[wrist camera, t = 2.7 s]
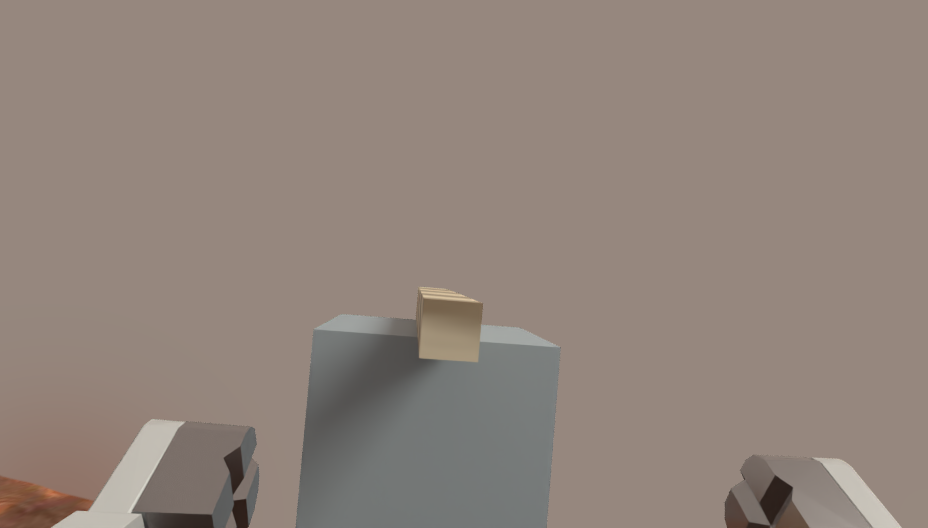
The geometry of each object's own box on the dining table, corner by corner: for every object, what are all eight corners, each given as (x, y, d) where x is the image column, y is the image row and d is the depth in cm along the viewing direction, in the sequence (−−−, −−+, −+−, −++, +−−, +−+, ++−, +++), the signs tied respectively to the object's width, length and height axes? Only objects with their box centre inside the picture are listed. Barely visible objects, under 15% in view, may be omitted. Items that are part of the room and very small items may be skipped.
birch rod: (478, 362, 23) (483, 303, 23) (418, 358, 23) (424, 298, 23) (445, 318, 47) (447, 289, 47) (415, 316, 47) (418, 286, 47)
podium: (524, 809, 31) (560, 347, 32) (270, 810, 30) (313, 329, 31) (493, 661, 43) (520, 327, 44) (310, 657, 42) (341, 314, 43)
